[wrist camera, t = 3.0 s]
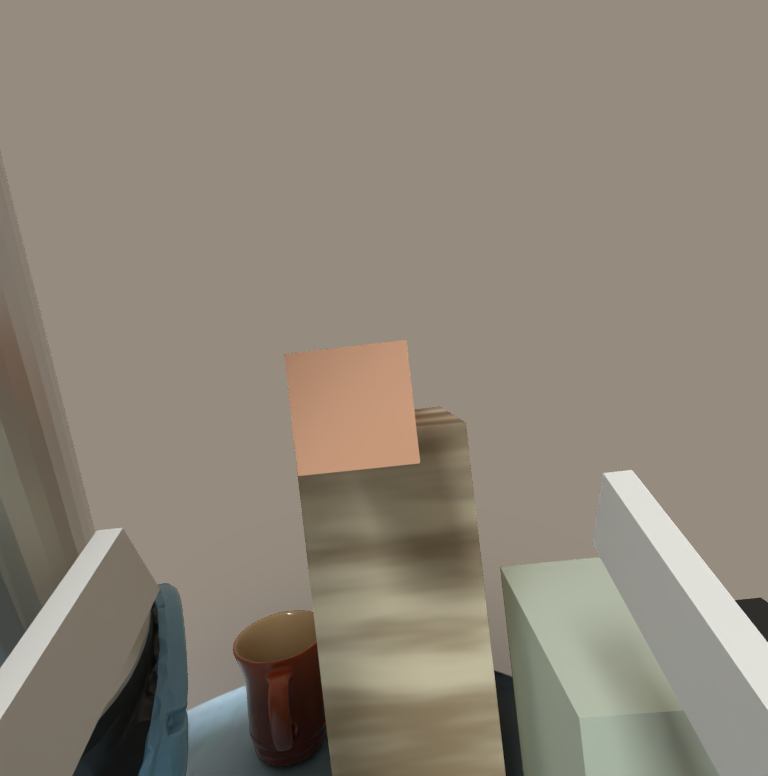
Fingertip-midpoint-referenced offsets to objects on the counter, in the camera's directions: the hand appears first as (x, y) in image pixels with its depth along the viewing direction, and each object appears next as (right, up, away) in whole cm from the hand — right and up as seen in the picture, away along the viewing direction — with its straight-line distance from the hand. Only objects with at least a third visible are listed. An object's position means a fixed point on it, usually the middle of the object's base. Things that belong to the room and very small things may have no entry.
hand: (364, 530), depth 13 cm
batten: (0, +2, +15) cm, 16 cm away
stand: (+4, -28, +22) cm, 36 cm away
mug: (-8, -30, +27) cm, 41 cm away
